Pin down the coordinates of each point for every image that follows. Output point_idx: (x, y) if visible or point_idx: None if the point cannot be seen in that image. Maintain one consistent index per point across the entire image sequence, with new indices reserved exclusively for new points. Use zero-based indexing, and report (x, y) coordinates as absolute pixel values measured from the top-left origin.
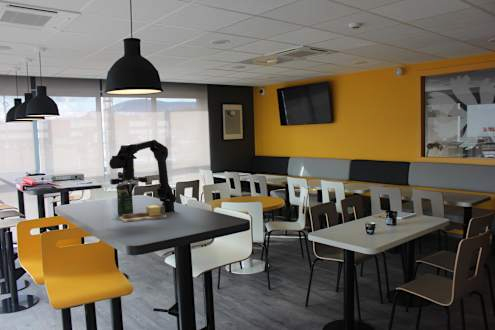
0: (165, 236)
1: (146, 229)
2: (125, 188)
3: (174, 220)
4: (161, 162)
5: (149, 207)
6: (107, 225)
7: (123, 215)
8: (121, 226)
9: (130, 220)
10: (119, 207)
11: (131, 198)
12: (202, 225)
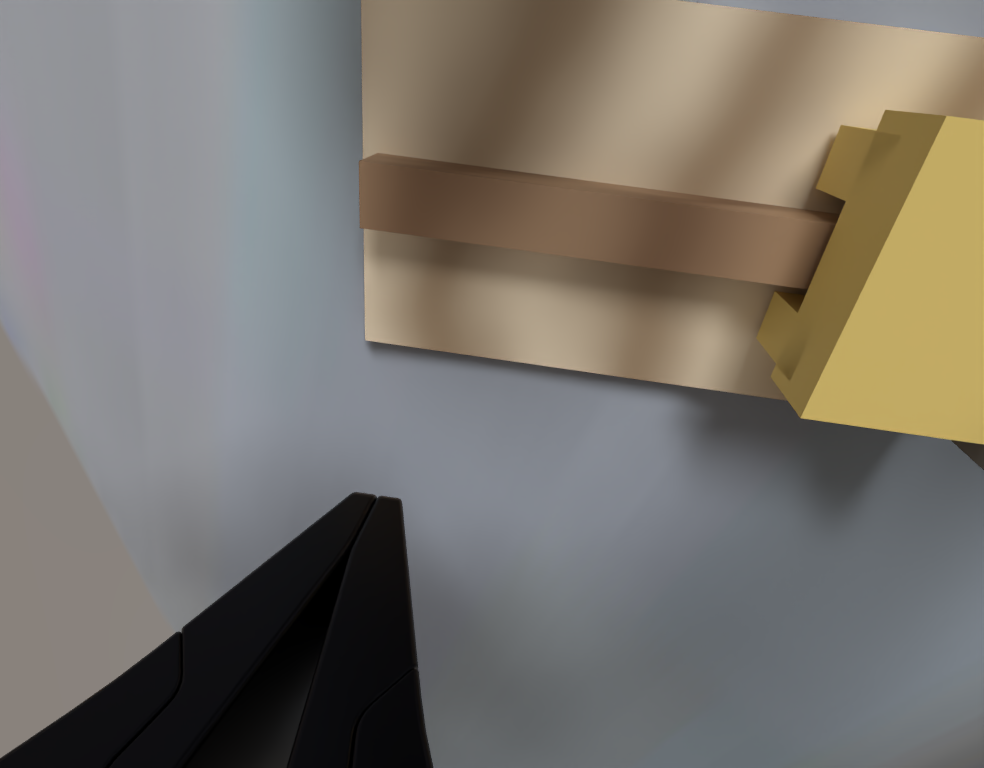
0: None
1: (451, 690)
2: (58, 736)
3: (827, 602)
4: None
5: (844, 353)
6: (172, 361)
7: (368, 227)
8: (304, 498)
9: (446, 346)
10: None
11: None
12: None
